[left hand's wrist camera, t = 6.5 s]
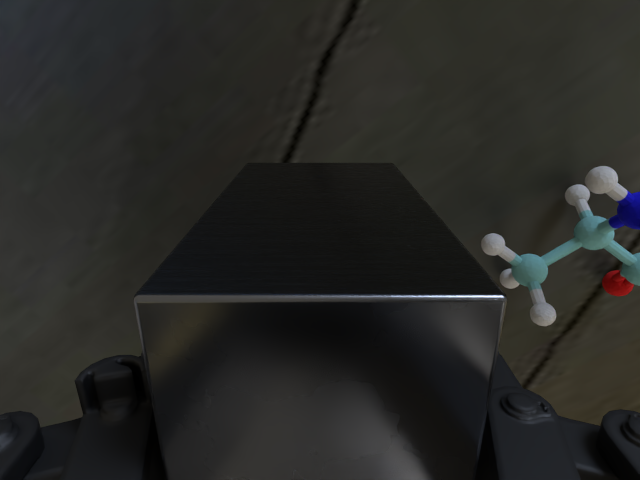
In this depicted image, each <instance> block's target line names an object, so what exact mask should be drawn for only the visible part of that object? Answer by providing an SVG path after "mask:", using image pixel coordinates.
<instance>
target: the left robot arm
mask: <svg viewBox="0 0 640 480" xmlns="http://www.w3.org/2000/svg"><path fill="white" fill-rule="evenodd" d="M75 384H76V388H77V392H78V396H79V399H80V403H81V407H82V411H83V417H82V418H78V419H75V420H72V421H68V422H63V423H59V424H55V425H50V426H46V427H42V428H40V424H39V421H38V418H37V417H36V416H34V415H33V414H32V413H29V412H22V411H18V412H10V413H5V414H2V415H0V480H166V479H165V473H164V468H163V462H162V456H161V451H160V445H159V440H158V434H157V429H156V423H155V418H154V412H153V407H152V401H151V396H150V390H149V385H148V379H147V374H146V368H145V363H144V357H143V352H142V353H141V356H140V357H137V356H133V355H117V356H113V357H109V358H105V359H102V360H100V361H98V362H96V363H94V364H91V365H90V366H89V367H87V368H86V369H85V370H83V371H82V372H81V373H80V374H79V376H78V377H77V378H76V380H75ZM475 480H640V413H638V412H635V411H628V410H614V411H609V412H608V413H607V414H606V415H605V416H603V419H602V422H601V426H597V425H593V424H589V423H584V422H580V421H576V420H571V419H568V418H564V417H561V416H558V415H557V414H556V412H555V410H554V409H553V407H552V406H551V404H549V403H548V402H547V401H546V400H545V399H543V398H542V397H541V396H539V395H537V394H535V393H533V392H531V391H529V390H527V389H523V388H522V387H521V385H520V383H519V382H518V380H517V379H516V377H515V376H514V374H513V373H512V371H511V370H510V368H509V367H508V365H507V364H506V362H505V360H504V359H503V357H502V356H501V355H499V351H498V356H497V361H496V367H495V372H494V378H493V383H492V389H491V394H490V400H489V405H488V411H487V416H486V422H485V427H484V433H483V438H482V444H481V449H480V454H479V460H478V465H477V471H476V476H475Z"/></svg>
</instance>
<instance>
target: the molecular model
mask: <svg viewBox="0 0 640 480" xmlns="http://www.w3.org/2000/svg"><path fill="white" fill-rule="evenodd" d="M617 182H618V176H617V174H616V172H615V171H614V170H613V169H612V168H610V167H607V166H600V167H596V168H594V169H592V170H591V171H589V172H588V174H587V175H586V178H585V184H586V186H587V188H588V189H589V190H590V191H591V192H593V193H596V194H603V193H606V194H607V195H609V196H610V197H611V198H613V199H614V200H615V201H617V202H618V203H619V205H618V208H617V215H615V216H613V217H611V218H609V219H605V218H603V217H600V216H593V214H592V212H591V210H590V208H589V206H588V203H587V201H588V199H589V197H590V192H589V190H588V189H587V188H586V187H585V186H583V185H573V186H571V187H569V188H568V189H567V191H566V193H565V199H566V201H567V202H568V203H569V204H571V205H573V206H575V207H576V209H577V212H578V214H579V217H580V219H581V221H579V222H578V223H577V225H576V226H575V229H574V238H573V239H571V240H569V241H567V242H566V243H564V244H562V245H561V246H559V247H557V248H555V249H554V250H552V251H550V252H549V253H547V254H545V255H543V256H542V257H539V256H537V255H535V254H524V255H521V256H518V255H517V254H516V253H514V252H513V251H511V250H510V249H509V248H507V247H506V246H505V241H504V239H503V237H502V236H500V235H498V234H495V233H491V234H488V235H486V236H485V237H484V238H483V239H482V242H481V247H482V250H483V251H484V252H485V253H486V254H488V255H492V256H494V255H499V256H500V257H502V258H503V259H504V260H506V261H507V262H509V263H510V264H511V265H512V267H511V269H506V270H504V271H503V272H502V273H501V274H500V282H501V284H502V285H503V286H504V287H506V288H510V289H512V288H515V287H517V286H518V285H519V284H521V285H524V286H528V288H529V292H530V295H531V298H532V302H533V306H532V308H531V310H530V317H531V319H532V321H533V322H535V323H536V324H538V325H540V326H548V325H550V324H552V323H553V322H554V321H555V319H556V311H555V309H554V308H553V307H552V306H551V305H550V304H548V303H546V301H545V298H544V295H543V292H542V289H541V285H540V284H541V283H542V282H543V281H544V280H545V279H546V277H547V274H548V268H547V266H549V265H550V264H552V263H554V262H555V261H557V260H559V259H561V258H562V257H564V256H566V255H568V254H570V253H571V252H573V251H575V250H577V249H578V248H580V247H584V248H586V249H590V250H598V249H602V248H604V249H606V250H607V251H608V252H610V253H611V254H612V255H614V256H615V257H616V258H618V259H619V260H620V261H622V262H623V264H622V270H621V271H619V270H615V271H610V272H608V273H607V274H606V275H605V276H604V278H603V280H602V284H603V287H604V289H605V290H606V292H608V293H609V294H611V295H615V296H623V295H626V294H628V293H629V292H630V291H631V290H632V288H633V286H634V284H635V285H639V286H640V253H636V254H633V255H632V254H631V253H629V252H628V251H627V250H626V249H624V248H623V247H622V246H620V245H619V244H618V243H617V242H615V241H614V240H613V238H614V230H615V229H617V228H620V227H622V226H624V225H626V226H627V227H630V228H632V229H640V192H636V193H632V194H631V193H630V192H628V191H627V190H626V189H625V188H623V187H622V186H621V185H620V184H618V183H617Z"/></svg>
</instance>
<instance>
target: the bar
mask: <svg viewBox="0 0 640 480" xmlns="http://www.w3.org/2000/svg"><path fill="white" fill-rule="evenodd" d="M506 306H507V297H506V294H505V293H504V292H503V291H502V290H501V289H500V287H499V286H498V285H497V284H496V283H495V282H494V280H493V279H492V278H491V277H490V276H489V275H488V273H487V272H486V271H485V270H484V269H483V268H482V266H481V265H480V264H479V263H478V262H477V261H476V259H475V258H474V257H473V256H472V255H471V254H470V252H469V251H468V250H467V249H466V248H465V247H464V245H463V244H462V243H461V242H460V241H459V240H458V238H457V237H456V236H455V235H454V234H453V233H452V232H451V230H450V229H449V228H448V227H447V226H446V225H445V223H444V222H443V221H442V220H441V219H440V218H439V216H438V215H437V214H436V213H435V212H434V211H433V209H432V208H431V207H430V206H429V205H428V204H427V202H426V201H425V200H424V199H423V198H422V197H421V195H420V194H419V193H418V192H417V191H416V190H415V188H414V187H413V186H412V185H411V184H410V183H409V181H408V180H407V179H406V178H405V177H404V176H403V174H402V173H401V172H400V171H399V170H398V169H397V167H396V166H395V165H394V164H393V163H248V164H246V165H245V166H244V168H243V169H242V170H241V171H240V172H239V173H238V175H237V176H236V177H235V178H234V179H233V180H232V182H231V183H230V184H229V185H228V186H227V188H226V189H225V190H224V191H223V192H222V193H221V195H220V196H219V197H218V198H217V199H216V200H215V202H214V203H213V204H212V205H211V206H210V207H209V209H208V210H207V211H206V212H205V213H204V215H203V216H202V217H201V218H200V219H199V220H198V222H197V223H196V224H195V225H194V226H193V227H192V229H191V230H190V231H189V232H188V233H187V234H186V236H185V237H184V238H183V239H182V240H181V241H180V243H179V244H178V245H177V246H176V247H175V249H174V250H173V251H172V252H171V253H170V254H169V256H168V257H167V258H166V259H165V260H164V261H163V263H162V264H161V265H160V266H159V267H158V268H157V270H156V271H155V272H154V273H153V274H152V275H151V277H150V278H149V279H148V280H147V281H146V283H145V284H144V285H143V286H142V287H141V288H140V290H139V291H138V292H137V293H136V294H135V296H134V307H135V313H136V318H137V324H138V329H139V335H140V340H141V346H142V352H143V357H144V363H145V368H146V374H147V379H148V385H149V390H150V396H151V401H152V407H153V412H154V418H155V423H156V429H157V434H158V440H159V445H160V451H161V456H162V462H163V468H164V473H165V479H166V480H475V476H476V471H477V465H478V460H479V454H480V449H481V444H482V438H483V433H484V427H485V422H486V416H487V411H488V405H489V400H490V394H491V389H492V383H493V378H494V372H495V367H496V361H497V356H498V350H499V345H500V339H501V334H502V328H503V323H504V317H505V312H506Z"/></svg>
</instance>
